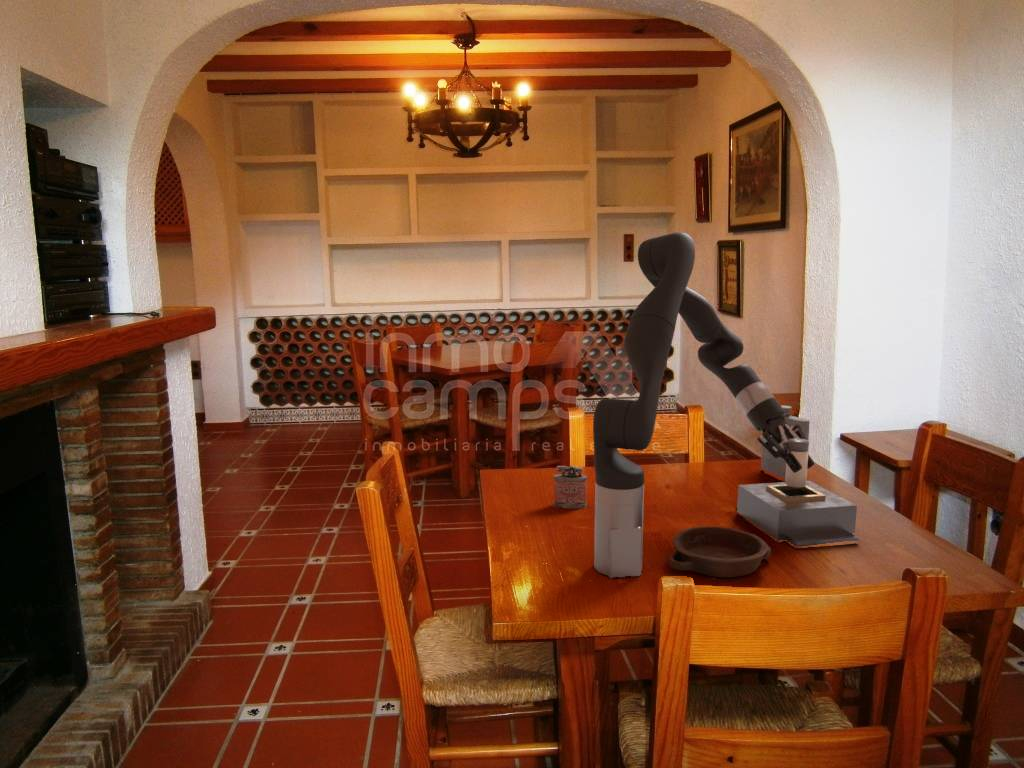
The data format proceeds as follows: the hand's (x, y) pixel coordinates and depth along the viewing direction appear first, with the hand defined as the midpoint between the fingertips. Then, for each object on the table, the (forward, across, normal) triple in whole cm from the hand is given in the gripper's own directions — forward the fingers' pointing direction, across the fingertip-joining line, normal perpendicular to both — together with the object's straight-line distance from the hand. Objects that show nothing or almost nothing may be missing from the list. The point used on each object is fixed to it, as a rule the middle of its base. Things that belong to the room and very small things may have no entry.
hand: (804, 468), depth 162 cm
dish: (+11, -31, +9) cm, 34 cm away
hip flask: (-7, +29, +27) cm, 40 cm away
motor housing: (+8, 0, +11) cm, 14 cm away
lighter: (-20, -31, +40) cm, 54 cm away
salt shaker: (+2, 0, +4) cm, 5 cm away
